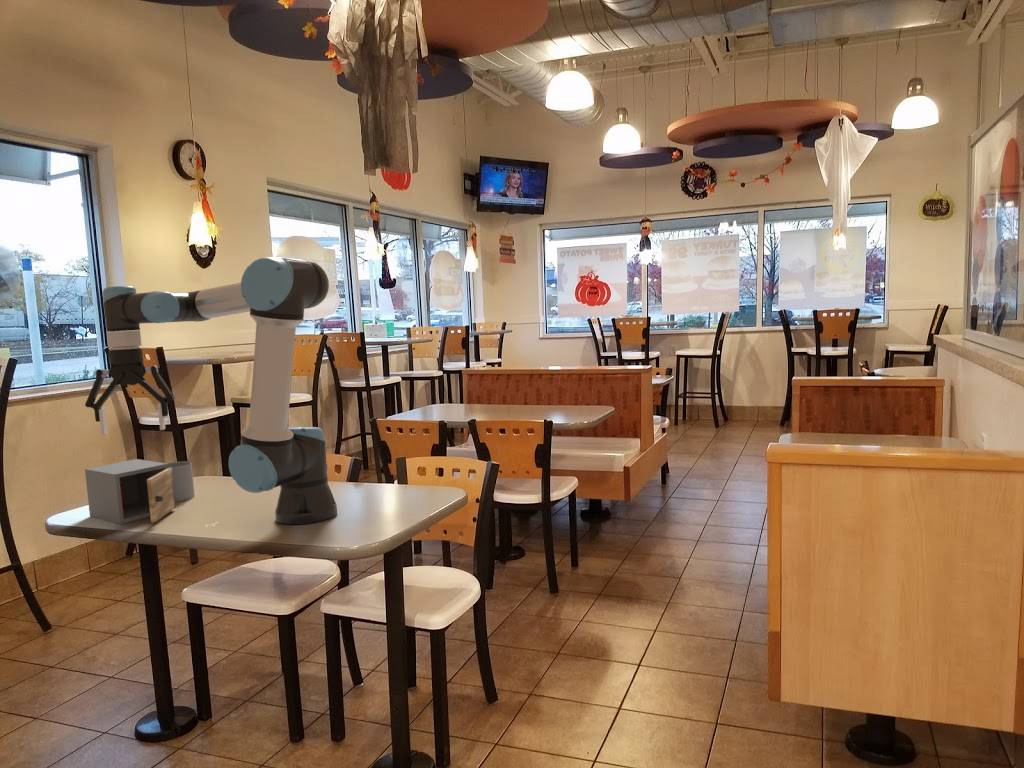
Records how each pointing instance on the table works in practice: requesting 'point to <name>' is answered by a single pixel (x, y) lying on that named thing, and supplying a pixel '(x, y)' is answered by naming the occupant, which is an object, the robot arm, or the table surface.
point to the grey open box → (121, 490)
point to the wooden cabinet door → (161, 494)
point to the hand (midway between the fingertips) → (134, 431)
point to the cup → (182, 480)
